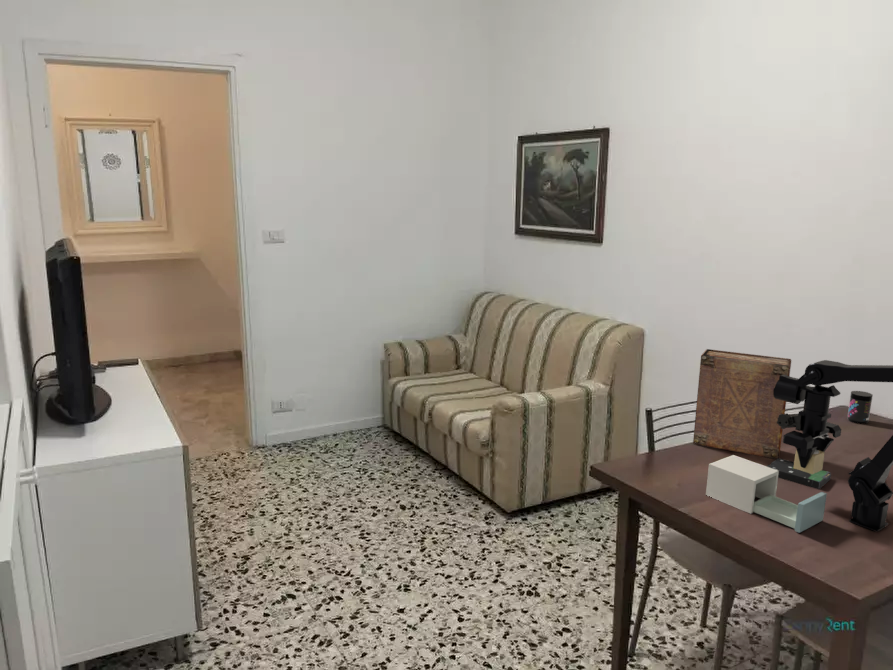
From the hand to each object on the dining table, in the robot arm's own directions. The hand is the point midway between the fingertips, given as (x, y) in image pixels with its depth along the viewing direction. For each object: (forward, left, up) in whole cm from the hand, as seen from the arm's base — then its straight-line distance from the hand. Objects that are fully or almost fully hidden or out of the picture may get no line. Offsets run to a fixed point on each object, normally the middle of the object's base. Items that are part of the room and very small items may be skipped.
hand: (808, 465), depth 179 cm
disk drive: (+9, -14, -11) cm, 20 cm away
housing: (+10, +14, -10) cm, 20 cm away
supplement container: (+22, -81, -10) cm, 85 cm away
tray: (-2, +14, -10) cm, 17 cm away
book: (+32, -20, -10) cm, 39 cm away
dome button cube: (0, 0, -1) cm, 1 cm away
